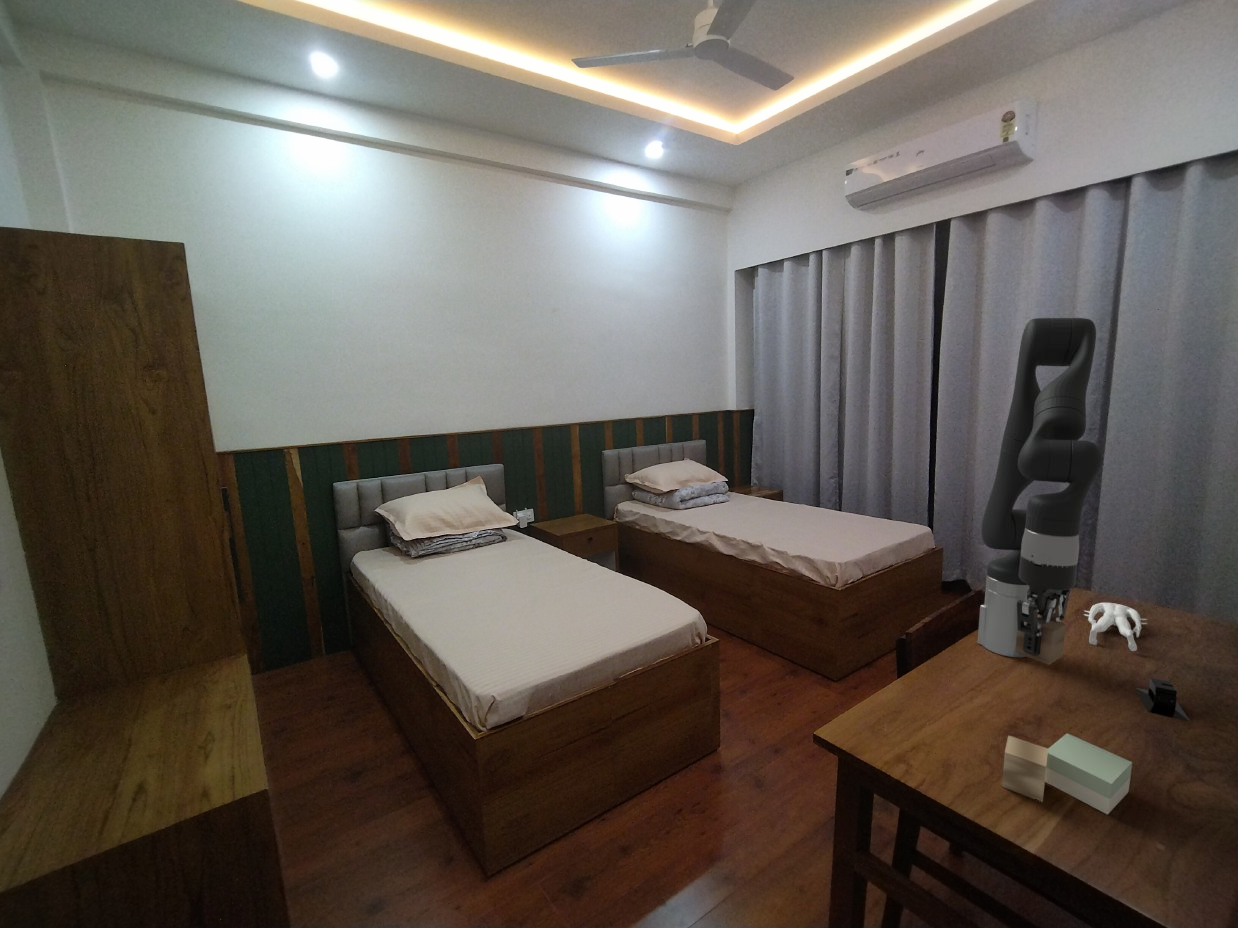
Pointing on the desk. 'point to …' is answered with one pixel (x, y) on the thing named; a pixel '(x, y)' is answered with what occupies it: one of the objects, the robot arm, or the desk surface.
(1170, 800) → the desk surface
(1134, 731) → the desk surface
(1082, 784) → the brick base
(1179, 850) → the desk surface
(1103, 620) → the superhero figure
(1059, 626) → the walnut brick
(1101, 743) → the desk surface
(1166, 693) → the black angular block
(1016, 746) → the brick
